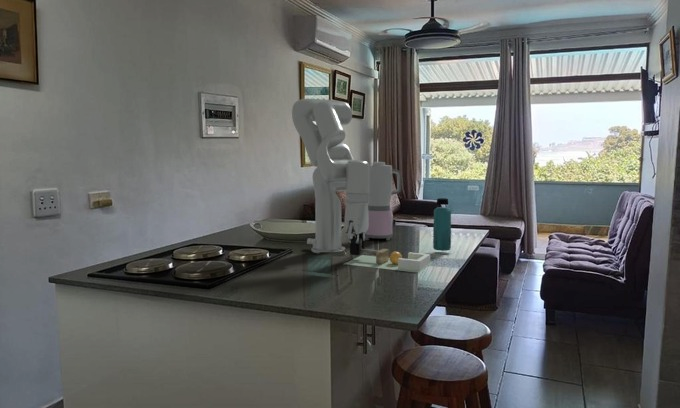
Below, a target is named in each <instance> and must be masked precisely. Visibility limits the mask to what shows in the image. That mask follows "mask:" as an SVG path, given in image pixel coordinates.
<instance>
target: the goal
mask: <svg viewBox="0 0 680 408" xmlns="http://www.w3.org/2000/svg"><path fill="white" fill-rule="evenodd" d="M430 262H431V254H430V253H420V252H411V251H410V252H408V253H407V258H403V257H402V258H399V259H398V269H406V270H415V271H421V270H422V269H423V268H425V267H426V266H427V267H429V266H430V265H431V264H430ZM429 264H430V265H429ZM428 265H429V266H428ZM427 267H426V268H427ZM426 268H425V269H426ZM423 270H424V269H423ZM423 270H422V271H423ZM422 271H421V272H422Z"/></svg>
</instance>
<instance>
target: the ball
mask: <svg viewBox="0 0 680 408" xmlns="http://www.w3.org/2000/svg"><path fill="white" fill-rule="evenodd" d="M389 258H390V261H391V262H392V263H393V264H398V259H399V258H403V255H402V254H401V252H399V251H392V252H391V253H389Z"/></svg>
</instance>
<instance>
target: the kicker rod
mask: <svg viewBox="0 0 680 408" xmlns="http://www.w3.org/2000/svg"><path fill="white" fill-rule="evenodd" d="M358 243H360V254H359V255H358V256H361V255H368V256H376V263H379V264H383V263H384V262H386V261H388V260H389V258H390V249H388V248H382V249H380V250H376V249H368V248H367V249H366V248H364V249H362V239H361V238H359V242H358Z"/></svg>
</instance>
